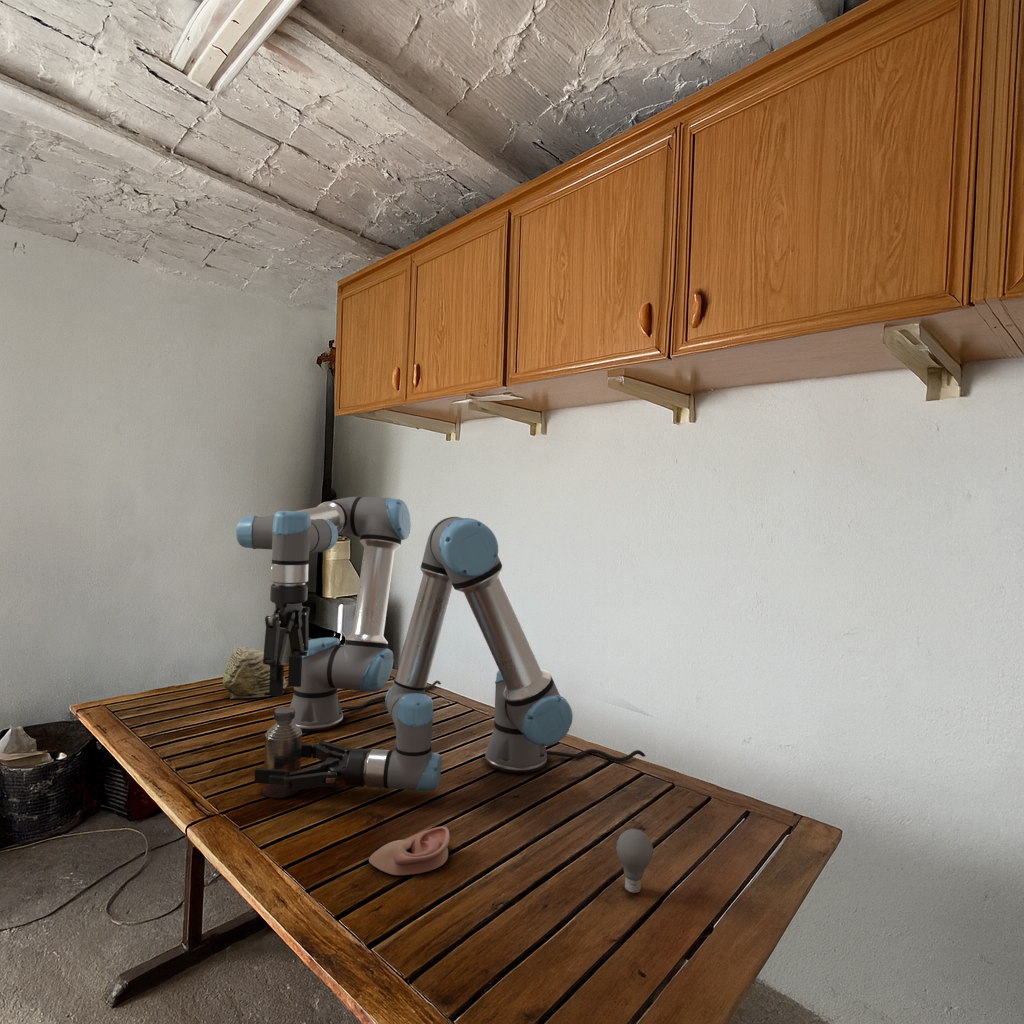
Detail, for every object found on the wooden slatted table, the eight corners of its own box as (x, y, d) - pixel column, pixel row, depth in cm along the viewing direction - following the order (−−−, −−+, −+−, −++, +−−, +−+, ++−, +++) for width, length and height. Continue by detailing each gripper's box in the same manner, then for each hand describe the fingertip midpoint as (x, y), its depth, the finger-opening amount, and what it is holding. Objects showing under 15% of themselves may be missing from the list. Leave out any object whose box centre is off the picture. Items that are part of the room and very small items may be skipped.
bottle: (289, 779, 141) (292, 703, 141) (306, 790, 136) (309, 712, 136) (256, 789, 136) (259, 711, 135) (273, 801, 131) (276, 720, 130)
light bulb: (610, 879, 108) (613, 822, 108) (644, 879, 109) (647, 822, 109) (619, 902, 102) (622, 840, 102) (655, 901, 103) (658, 840, 103)
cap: (288, 713, 139) (289, 705, 139) (298, 718, 136) (298, 710, 136) (270, 717, 136) (270, 709, 136) (280, 723, 133) (280, 714, 133)
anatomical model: (361, 846, 108) (388, 814, 119) (360, 870, 108) (387, 835, 119) (436, 859, 105) (456, 825, 117) (435, 882, 105) (455, 846, 117)
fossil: (218, 695, 195) (220, 647, 195) (278, 685, 208) (279, 640, 207) (228, 703, 189) (230, 653, 188) (289, 692, 201) (290, 645, 201)
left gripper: (297, 577, 145) (294, 676, 146) (245, 587, 126) (241, 702, 127) (327, 579, 144) (323, 680, 144) (279, 590, 125) (275, 706, 125)
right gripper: (349, 814, 122) (241, 807, 123) (381, 761, 147) (291, 755, 148) (350, 775, 122) (243, 769, 123) (382, 729, 147) (293, 724, 148)
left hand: (285, 690), depth 136 cm, fingers open, 6 cm apart
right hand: (269, 761), depth 136 cm, fingers open, 13 cm apart
